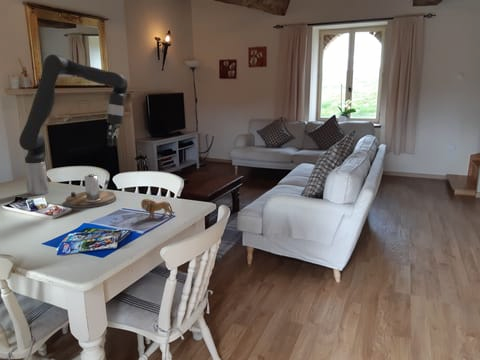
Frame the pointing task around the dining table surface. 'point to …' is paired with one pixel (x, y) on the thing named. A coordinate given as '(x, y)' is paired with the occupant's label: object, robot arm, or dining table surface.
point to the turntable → (81, 198)
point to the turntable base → (91, 205)
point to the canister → (92, 188)
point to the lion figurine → (155, 207)
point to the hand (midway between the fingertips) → (111, 145)
